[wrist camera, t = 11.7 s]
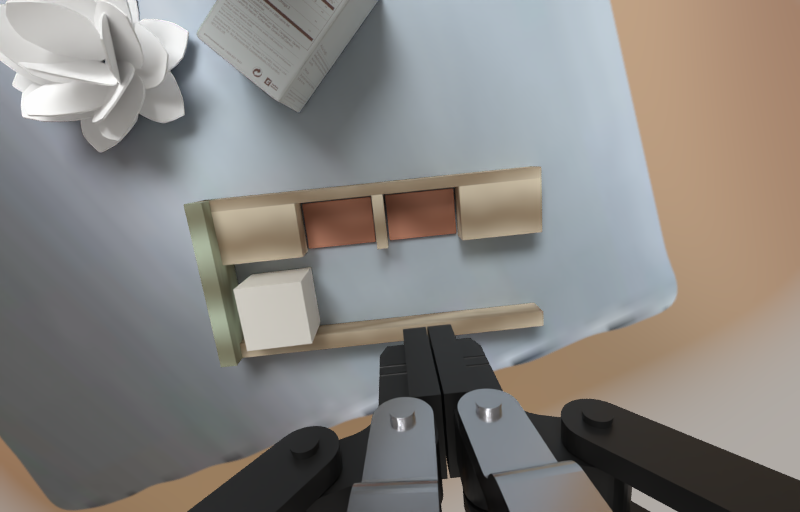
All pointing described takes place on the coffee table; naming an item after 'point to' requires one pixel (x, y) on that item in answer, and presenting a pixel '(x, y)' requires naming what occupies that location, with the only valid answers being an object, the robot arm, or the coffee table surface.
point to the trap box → (352, 224)
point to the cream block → (278, 309)
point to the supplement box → (283, 41)
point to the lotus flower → (92, 64)
